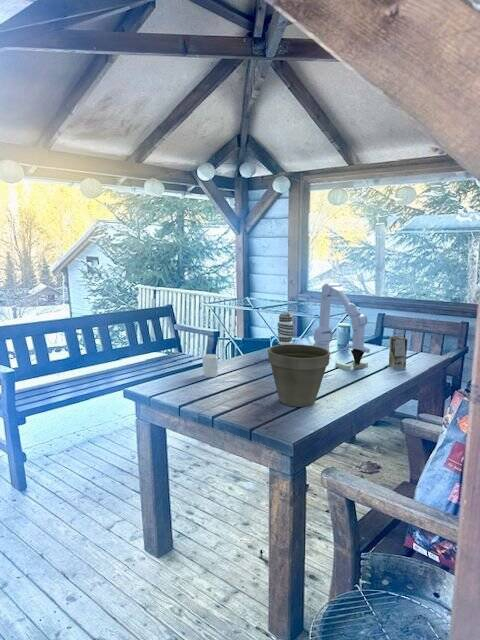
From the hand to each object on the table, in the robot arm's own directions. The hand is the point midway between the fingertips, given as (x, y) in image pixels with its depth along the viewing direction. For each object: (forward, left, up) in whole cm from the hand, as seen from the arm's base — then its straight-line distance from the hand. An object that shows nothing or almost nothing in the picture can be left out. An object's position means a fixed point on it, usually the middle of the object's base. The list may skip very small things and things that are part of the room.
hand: (357, 363), depth 238 cm
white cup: (-29, -71, -3) cm, 77 cm away
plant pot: (+24, -58, -3) cm, 63 cm away
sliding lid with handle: (+5, 0, -3) cm, 6 cm away
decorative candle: (-44, -14, -3) cm, 46 cm away
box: (-4, 0, -3) cm, 5 cm away
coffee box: (+9, +20, -3) cm, 22 cm away
